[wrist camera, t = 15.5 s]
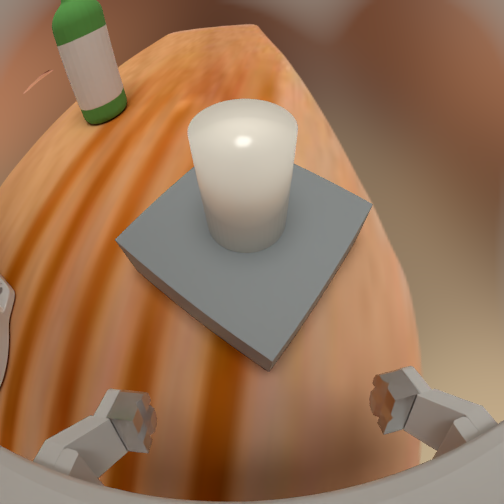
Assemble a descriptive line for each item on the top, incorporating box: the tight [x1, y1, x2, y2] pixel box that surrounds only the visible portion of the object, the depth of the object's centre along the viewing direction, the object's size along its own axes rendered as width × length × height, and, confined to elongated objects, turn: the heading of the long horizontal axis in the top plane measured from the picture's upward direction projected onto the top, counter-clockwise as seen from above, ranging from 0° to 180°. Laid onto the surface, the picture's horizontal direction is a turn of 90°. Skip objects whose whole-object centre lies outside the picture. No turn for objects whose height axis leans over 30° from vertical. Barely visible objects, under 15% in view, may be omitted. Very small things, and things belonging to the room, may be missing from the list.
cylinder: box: [188, 99, 298, 253], centre depth 17 cm, size 6×6×8 cm
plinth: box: [115, 164, 373, 371], centre depth 22 cm, size 14×14×5 cm
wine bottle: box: [52, 0, 127, 124], centre depth 26 cm, size 8×8×30 cm
